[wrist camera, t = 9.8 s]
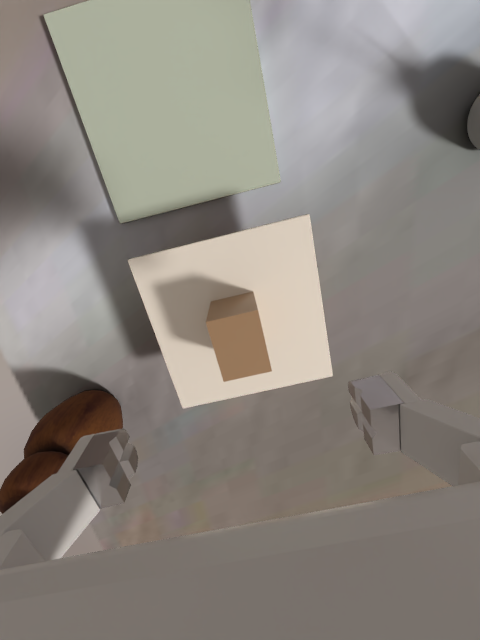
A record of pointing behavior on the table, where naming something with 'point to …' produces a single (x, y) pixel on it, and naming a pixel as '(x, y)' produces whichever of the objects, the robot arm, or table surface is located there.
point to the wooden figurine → (59, 440)
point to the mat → (168, 99)
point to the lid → (237, 311)
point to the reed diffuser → (474, 123)
